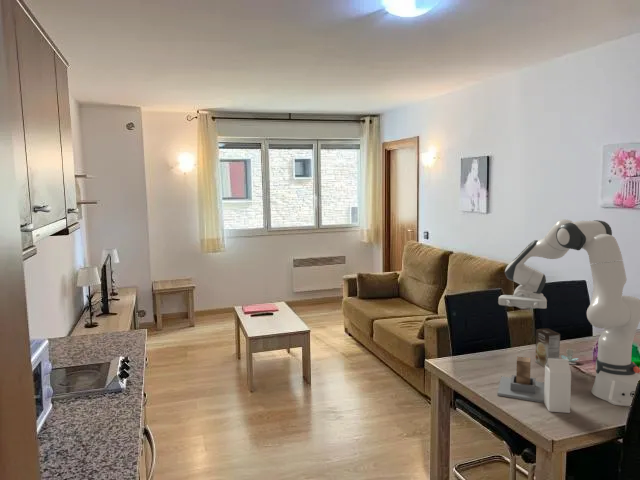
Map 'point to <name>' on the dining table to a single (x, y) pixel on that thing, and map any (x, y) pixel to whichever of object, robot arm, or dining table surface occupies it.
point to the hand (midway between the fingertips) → (521, 305)
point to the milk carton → (557, 385)
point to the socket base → (521, 389)
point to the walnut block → (523, 370)
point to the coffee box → (546, 345)
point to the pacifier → (569, 356)
